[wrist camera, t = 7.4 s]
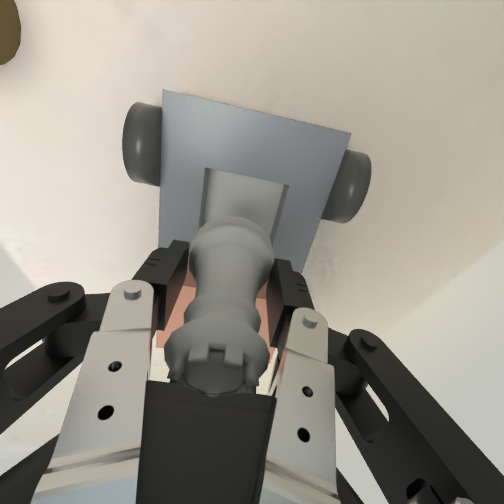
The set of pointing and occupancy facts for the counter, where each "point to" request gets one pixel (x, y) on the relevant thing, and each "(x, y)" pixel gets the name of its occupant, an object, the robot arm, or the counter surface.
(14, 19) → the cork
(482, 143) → the counter surface
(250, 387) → the rook chess piece
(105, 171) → the counter surface
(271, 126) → the toy truck
